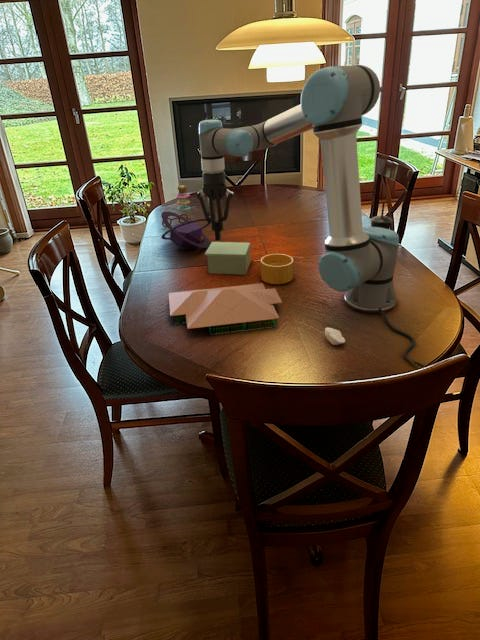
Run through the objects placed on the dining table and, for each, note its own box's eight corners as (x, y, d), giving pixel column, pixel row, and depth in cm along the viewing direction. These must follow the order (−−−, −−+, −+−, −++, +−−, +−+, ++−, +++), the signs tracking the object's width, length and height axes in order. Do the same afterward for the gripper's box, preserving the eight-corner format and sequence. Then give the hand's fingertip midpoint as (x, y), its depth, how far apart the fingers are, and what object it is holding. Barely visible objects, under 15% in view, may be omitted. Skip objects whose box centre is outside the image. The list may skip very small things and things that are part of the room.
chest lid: (205, 255, 156) (204, 253, 156) (212, 243, 166) (212, 241, 165) (245, 256, 154) (245, 254, 153) (250, 244, 164) (250, 242, 163)
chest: (208, 273, 159) (207, 255, 156) (215, 260, 169) (214, 243, 166) (245, 274, 157) (245, 256, 154) (250, 261, 167) (250, 244, 164)
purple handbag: (213, 256, 173) (209, 192, 160) (159, 259, 172) (150, 195, 159) (213, 236, 192) (208, 177, 179) (164, 239, 191) (156, 180, 178)
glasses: (187, 222, 210) (186, 212, 207) (200, 230, 200) (200, 219, 198) (162, 228, 204) (160, 218, 201) (174, 236, 194) (173, 225, 192)
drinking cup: (388, 258, 165) (396, 205, 155) (367, 257, 167) (373, 204, 156) (386, 250, 172) (394, 199, 161) (366, 250, 173) (372, 198, 163)
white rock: (319, 338, 121) (321, 325, 120) (336, 339, 122) (339, 325, 121) (330, 348, 114) (333, 334, 113) (348, 348, 116) (351, 334, 114)
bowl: (291, 286, 148) (292, 267, 145) (259, 285, 150) (258, 265, 146) (293, 272, 157) (294, 254, 154) (262, 271, 159) (262, 253, 156)
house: (288, 326, 126) (289, 301, 122) (172, 340, 122) (168, 315, 118) (270, 291, 145) (270, 268, 141) (170, 302, 141) (167, 278, 137)
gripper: (234, 168, 148) (237, 236, 160) (197, 168, 151) (203, 235, 162) (230, 173, 142) (234, 243, 154) (191, 173, 144) (198, 242, 156)
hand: (218, 239), depth 158 cm, fingers closed
